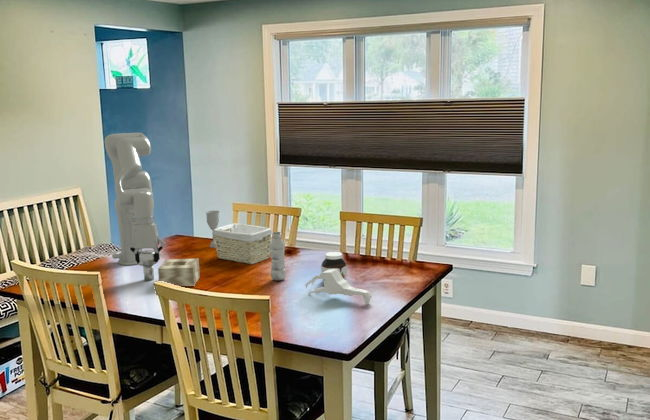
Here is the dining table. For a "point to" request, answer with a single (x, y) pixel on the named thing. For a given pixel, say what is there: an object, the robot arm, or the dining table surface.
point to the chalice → (212, 223)
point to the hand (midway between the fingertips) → (147, 261)
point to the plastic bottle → (277, 257)
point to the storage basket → (243, 243)
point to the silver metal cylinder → (147, 263)
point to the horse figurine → (338, 285)
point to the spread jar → (334, 263)
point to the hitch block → (180, 271)
